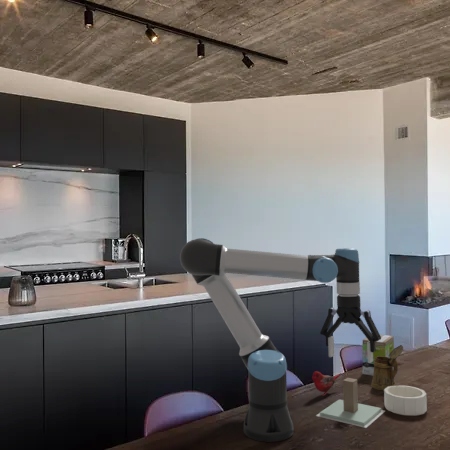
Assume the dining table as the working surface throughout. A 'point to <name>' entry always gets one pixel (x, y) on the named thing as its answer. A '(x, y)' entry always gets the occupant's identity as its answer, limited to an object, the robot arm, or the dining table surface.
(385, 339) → the tea box
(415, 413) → the bowl
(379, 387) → the wooden mug
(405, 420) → the dining table surface
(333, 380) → the decorative bird figurine
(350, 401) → the lid
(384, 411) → the mat
